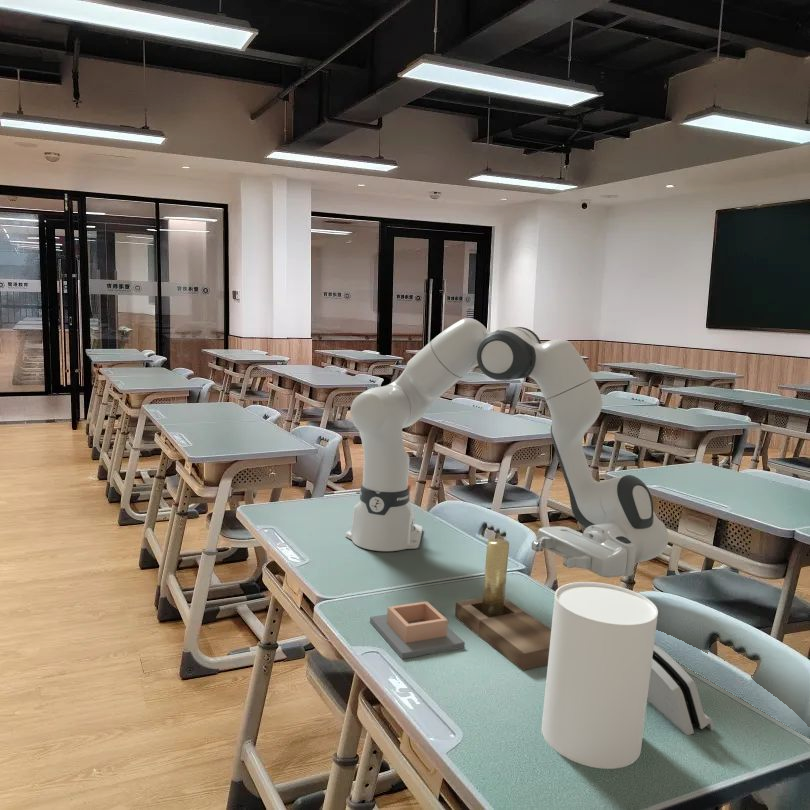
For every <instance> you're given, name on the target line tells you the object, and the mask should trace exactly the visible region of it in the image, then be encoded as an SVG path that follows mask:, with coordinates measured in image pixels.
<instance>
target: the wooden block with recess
mask: <svg viewBox="0 0 810 810" xmlns="http://www.w3.org/2000/svg"><path fill="white" fill-rule="evenodd" d="M482 601H483V596H481V597H476V598H471V599H464V600H459V601H455V606H454V607H455V608H454V609H455V610H454V617H455V618H456V619H457V620H458V619H459V620H458V621H460V622H461V623H462V622H463V623H464V624H463V623H462V624H463V625H465V626H466V627H467V628H468V627H469V628H468V629H470V630H471V631H472V632H473V631H474V632H473V633H475V634H476V635H477V634H478V635H477V636H479V637H480V638H481V639H482V640H483V641H485V642H486V643H487V644H488V645H489V646H491V647H493V648H494V649H495V651H497V652H498V653H500V654H502V655H503V657H505V659H506V658H507V660H509V661H510V662H511V663H513V664H514V665H515V666H517V667H518V668H519V669H520V670H521V671H527V670H531V669H535V668H539V667H543V666H548V658H549V648H550V638H551V628H550V627H548V626H547V625H545V624H544V623H542V622H541V621H539V620H538V619H536V618H535V617H533V616H532V615H530V614H529V613H528V612H526V611H524V609H521V608H520V607H518V606H517V605H515V604H514V603H512V602H511V601H509V600H508V599H506V598H505V597H504V609H503V615H501V616H496V617H491V618H488V617H487V616H485V615H484V614H483V613H482Z"/></svg>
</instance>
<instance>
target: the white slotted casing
mask: <svg viewBox="0 0 810 810" xmlns="http://www.w3.org/2000/svg"><path fill="white" fill-rule="evenodd" d="M697 687H698V686H697V684H696V682H695V681H694V679H693V678H692V677H691V676H690V675H689V674H688V673H687V671H685V669H684V668H683V667H681V665H680V664H679V663H678V662H677V661H676V660H675V659H674V658H673V657H672V656H670V655H669V654H668V653H667V652H665V650H664V649H662V648H661V647H659V646H658V645H657V644H655V643H654V649H653V657H652V665H651V673H650V681H649V689H648V697H647V702H649V703H650V704H651V705H652V706H654V707H655V709H656V710H658V711H659V712H660V713H661V714H662V713H663V714H664V715H663V714H662V715H663V716H664V717H666V718H667V719H668V720H669V721H670V722H671V723H672V724H673V725H675V726H676V727H677V728H678V729H679V730H680V731H681V732H682V733H684V734H685V735H687V736H688V735H689V736H690V735H693V734H695V731H694V730H695V727H696V728H697V729H699V728H700V730H703V729H704V728H706V727H707V729H709V730H710V731H711V732H712V731H714V730H715V729H714V728H715V727H714V722H713V719H712V718H711V717H710V716H708V715H707V714H706V713H704V709H703V706H702V701H701V697H700V693H699V691H698V688H697Z"/></svg>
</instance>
